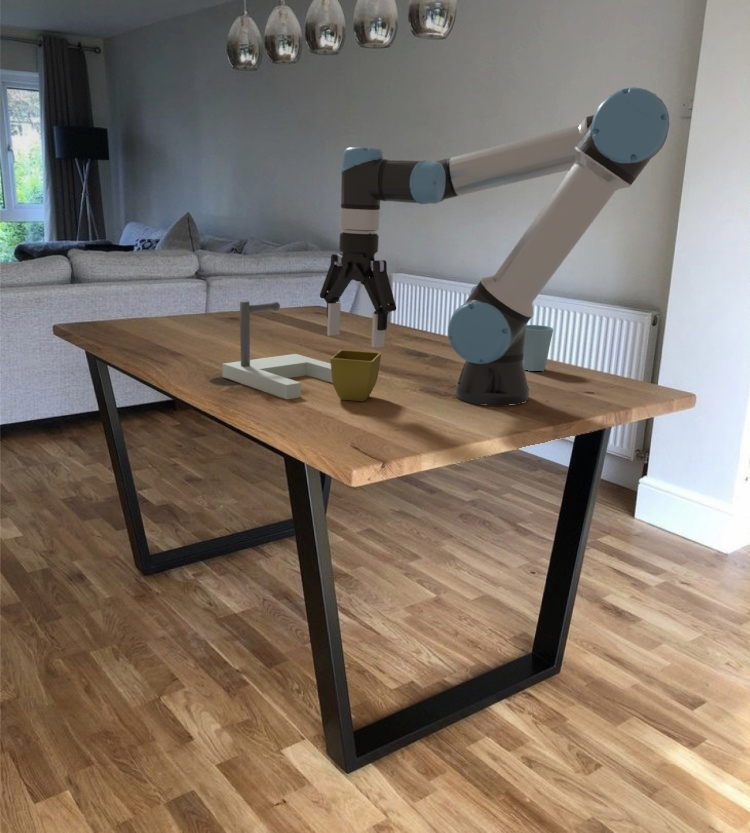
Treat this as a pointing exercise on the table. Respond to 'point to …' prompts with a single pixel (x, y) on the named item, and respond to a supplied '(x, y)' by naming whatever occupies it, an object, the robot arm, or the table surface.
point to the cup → (536, 347)
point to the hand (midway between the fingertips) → (354, 340)
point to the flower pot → (354, 373)
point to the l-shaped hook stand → (271, 363)
